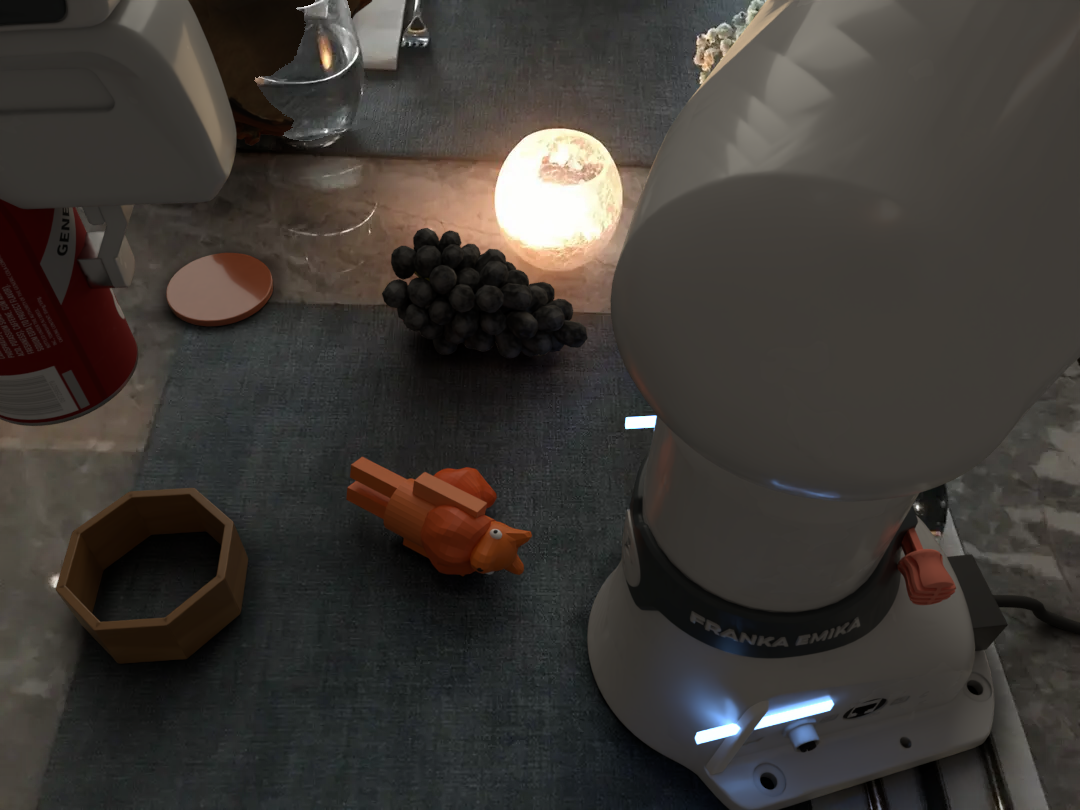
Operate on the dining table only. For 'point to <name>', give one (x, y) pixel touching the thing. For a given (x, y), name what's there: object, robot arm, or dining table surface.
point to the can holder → (124, 531)
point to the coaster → (219, 289)
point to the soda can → (55, 322)
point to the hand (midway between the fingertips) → (15, 283)
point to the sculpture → (254, 54)
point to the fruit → (476, 300)
